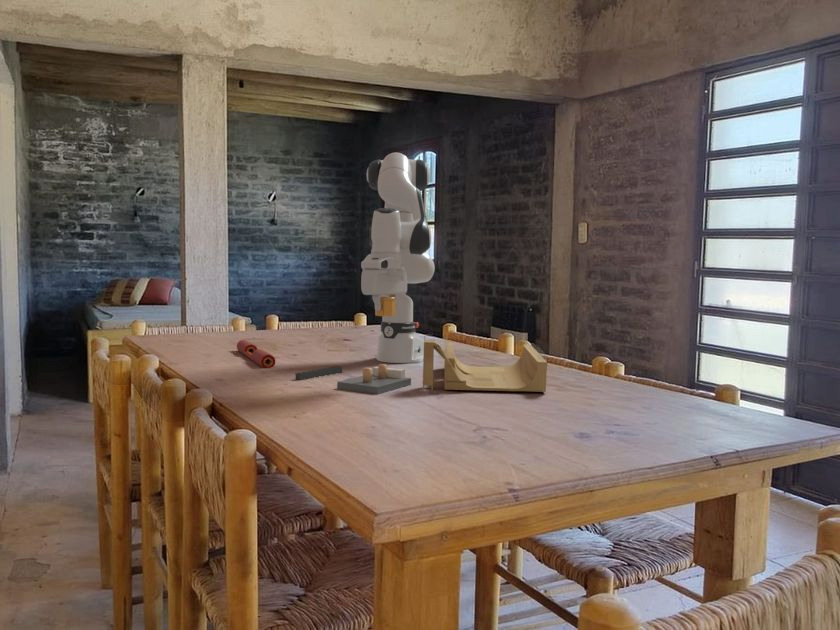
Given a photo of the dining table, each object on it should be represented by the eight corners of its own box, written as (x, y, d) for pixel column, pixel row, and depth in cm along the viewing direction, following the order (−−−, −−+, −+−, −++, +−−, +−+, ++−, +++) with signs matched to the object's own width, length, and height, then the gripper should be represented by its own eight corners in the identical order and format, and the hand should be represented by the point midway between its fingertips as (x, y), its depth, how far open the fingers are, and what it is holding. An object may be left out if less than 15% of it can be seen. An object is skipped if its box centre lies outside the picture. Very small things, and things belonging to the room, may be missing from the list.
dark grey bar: (300, 371, 225) (290, 370, 227) (300, 380, 225) (290, 379, 227) (342, 365, 240) (332, 364, 242) (342, 373, 240) (332, 372, 242)
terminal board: (372, 379, 228) (372, 360, 228) (410, 384, 222) (411, 364, 221) (337, 388, 213) (337, 368, 212) (377, 394, 206) (378, 372, 205)
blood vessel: (236, 352, 283) (236, 339, 283) (249, 352, 286) (249, 339, 285) (260, 369, 245) (260, 354, 245) (275, 369, 248) (275, 354, 247)
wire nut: (382, 314, 223) (382, 296, 222) (398, 315, 220) (398, 297, 219) (371, 315, 218) (372, 296, 217) (388, 316, 215) (388, 297, 215)
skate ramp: (546, 395, 212) (548, 339, 210) (422, 391, 213) (423, 336, 211) (530, 372, 252) (531, 325, 250) (426, 369, 253) (427, 323, 251)
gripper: (395, 263, 228) (394, 308, 229) (357, 262, 211) (356, 310, 211) (412, 263, 225) (411, 309, 226) (376, 262, 208) (375, 311, 208)
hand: (384, 310), depth 219 cm, fingers closed on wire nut, 6 cm apart
